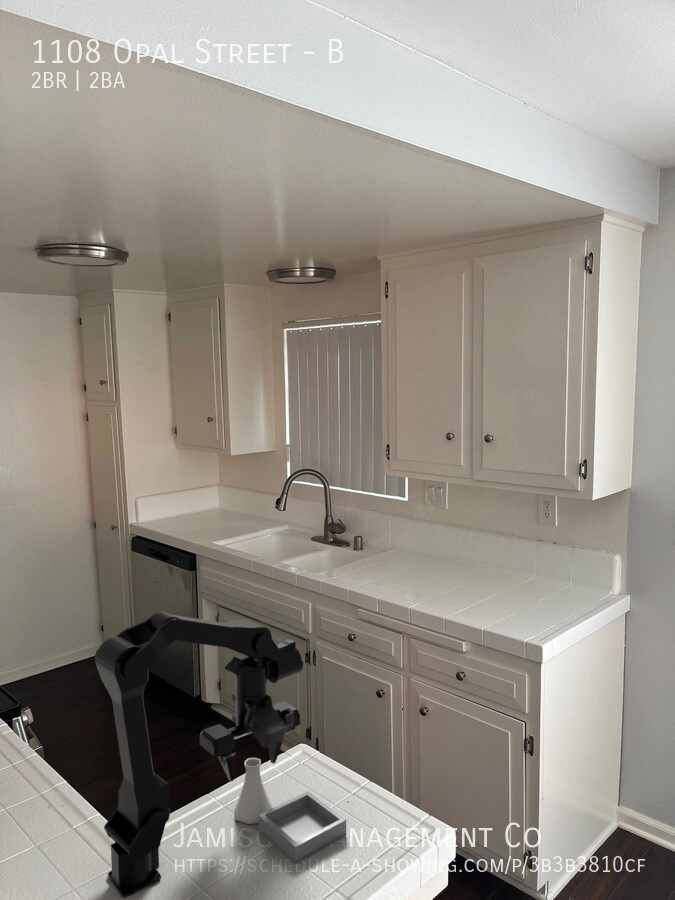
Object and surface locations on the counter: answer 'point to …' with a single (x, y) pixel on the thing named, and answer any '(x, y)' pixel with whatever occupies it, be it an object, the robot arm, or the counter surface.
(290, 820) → the box
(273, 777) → the counter surface
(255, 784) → the flask
